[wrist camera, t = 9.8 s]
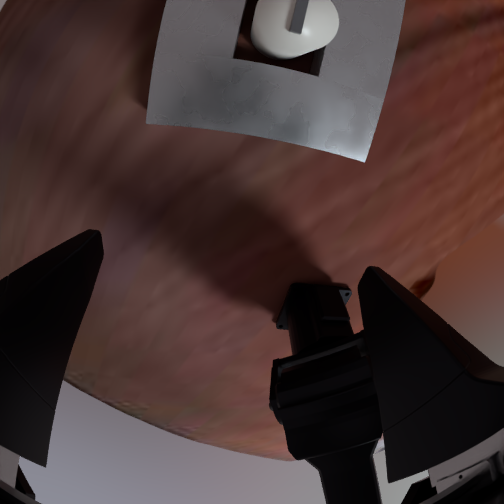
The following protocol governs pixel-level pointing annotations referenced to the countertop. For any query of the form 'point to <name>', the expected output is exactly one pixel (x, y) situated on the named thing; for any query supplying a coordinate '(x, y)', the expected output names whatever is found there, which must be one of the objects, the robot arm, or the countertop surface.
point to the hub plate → (275, 77)
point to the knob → (293, 27)
